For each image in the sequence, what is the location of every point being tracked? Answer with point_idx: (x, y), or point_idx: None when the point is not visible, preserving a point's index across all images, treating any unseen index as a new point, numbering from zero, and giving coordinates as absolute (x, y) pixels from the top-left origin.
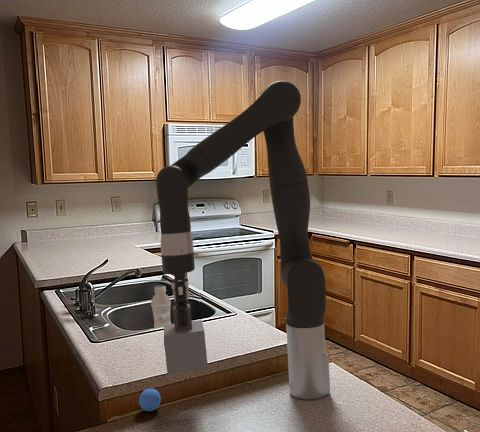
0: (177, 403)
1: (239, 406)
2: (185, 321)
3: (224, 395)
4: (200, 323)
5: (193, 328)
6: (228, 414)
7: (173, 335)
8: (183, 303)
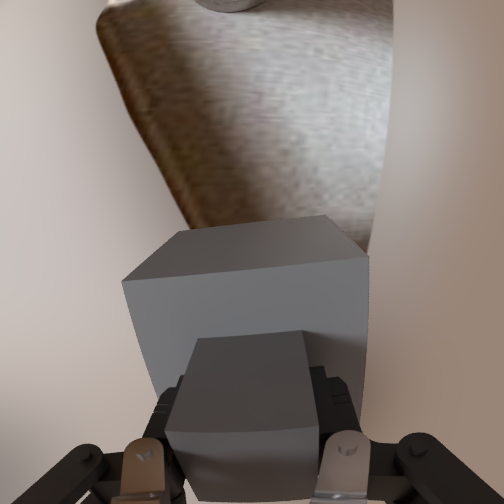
0: None
1: (286, 128)
2: (348, 391)
3: (216, 166)
4: (200, 287)
5: (298, 323)
6: (324, 156)
7: (360, 400)
8: (171, 465)
